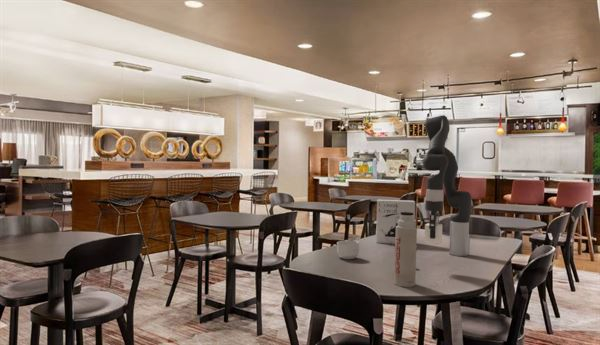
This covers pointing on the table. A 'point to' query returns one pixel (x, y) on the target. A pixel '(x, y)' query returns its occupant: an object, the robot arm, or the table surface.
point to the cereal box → (390, 218)
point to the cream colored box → (437, 234)
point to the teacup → (348, 249)
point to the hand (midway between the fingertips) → (433, 237)
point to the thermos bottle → (405, 251)
